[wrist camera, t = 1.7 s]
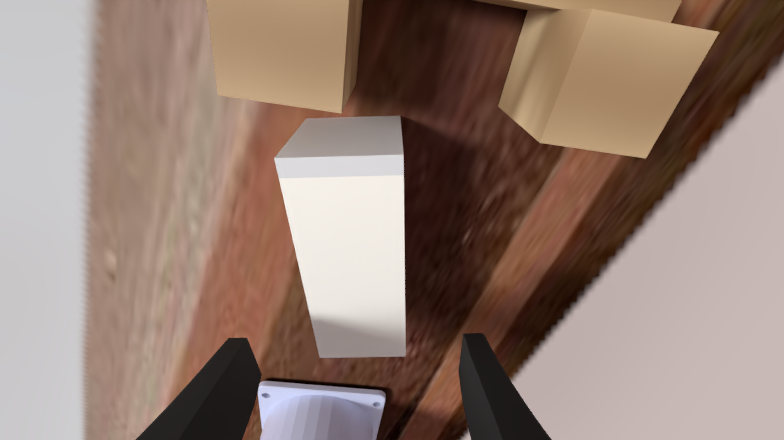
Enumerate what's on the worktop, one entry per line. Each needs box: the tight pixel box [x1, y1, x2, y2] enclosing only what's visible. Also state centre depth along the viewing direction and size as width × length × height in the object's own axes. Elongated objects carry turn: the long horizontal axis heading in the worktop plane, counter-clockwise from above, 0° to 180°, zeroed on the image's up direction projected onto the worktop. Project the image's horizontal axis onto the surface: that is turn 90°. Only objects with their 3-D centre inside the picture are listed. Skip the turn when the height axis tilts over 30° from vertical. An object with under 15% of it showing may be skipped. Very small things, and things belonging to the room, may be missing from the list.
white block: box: [274, 116, 406, 358], centre depth 13 cm, size 9×4×4 cm, turn 2°
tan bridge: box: [206, 0, 719, 158], centre depth 9 cm, size 4×11×4 cm, turn 82°
